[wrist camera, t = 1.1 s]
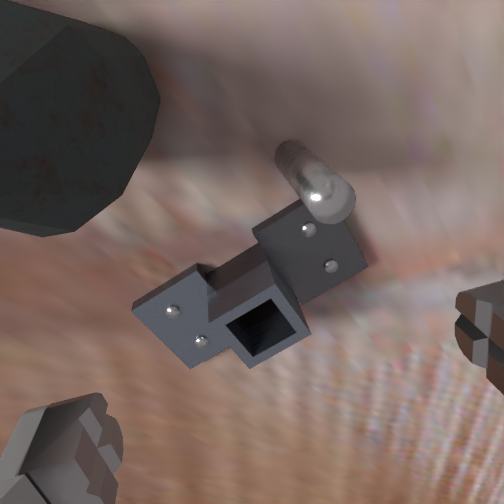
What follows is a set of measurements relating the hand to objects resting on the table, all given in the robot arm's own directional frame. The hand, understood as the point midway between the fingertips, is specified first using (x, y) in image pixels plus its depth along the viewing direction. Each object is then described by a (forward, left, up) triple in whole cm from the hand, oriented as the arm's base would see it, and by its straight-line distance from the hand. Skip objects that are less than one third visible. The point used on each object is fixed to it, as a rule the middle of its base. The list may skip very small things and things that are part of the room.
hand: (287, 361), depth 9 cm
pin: (-4, +5, -28) cm, 29 cm away
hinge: (+6, +14, -28) cm, 32 cm away
